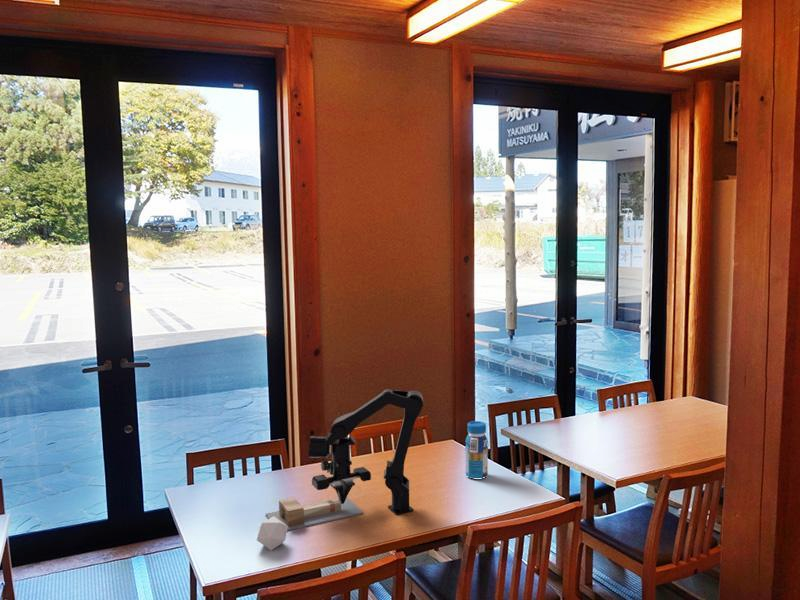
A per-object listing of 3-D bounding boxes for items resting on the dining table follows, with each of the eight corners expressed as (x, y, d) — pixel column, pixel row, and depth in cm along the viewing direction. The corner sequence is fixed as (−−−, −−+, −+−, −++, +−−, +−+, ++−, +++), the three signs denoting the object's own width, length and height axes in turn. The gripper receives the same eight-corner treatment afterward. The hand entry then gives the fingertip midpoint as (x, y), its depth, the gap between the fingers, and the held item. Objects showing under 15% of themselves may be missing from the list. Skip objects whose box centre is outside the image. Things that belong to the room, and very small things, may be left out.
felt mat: (363, 513, 212) (363, 512, 211) (278, 532, 199) (278, 531, 199) (346, 498, 224) (346, 496, 224) (265, 515, 211) (265, 513, 211)
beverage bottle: (460, 474, 244) (460, 422, 242) (479, 470, 248) (479, 419, 246) (473, 482, 237) (473, 428, 235) (492, 478, 241) (493, 424, 239)
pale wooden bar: (341, 510, 213) (341, 502, 213) (287, 522, 205) (287, 513, 204) (337, 507, 215) (337, 498, 215) (284, 518, 207) (284, 510, 207)
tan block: (304, 523, 204) (303, 507, 203) (288, 526, 201) (288, 511, 201) (294, 512, 212) (294, 497, 211) (279, 515, 210) (278, 500, 209)
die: (291, 551, 189) (294, 516, 194) (270, 546, 183) (273, 511, 188) (271, 554, 193) (274, 520, 198) (249, 550, 187) (253, 515, 192)
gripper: (357, 445, 224) (358, 489, 226) (305, 454, 216) (306, 500, 217) (371, 455, 214) (372, 501, 216) (317, 465, 206) (318, 512, 207)
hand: (342, 503), depth 214 cm, fingers closed
